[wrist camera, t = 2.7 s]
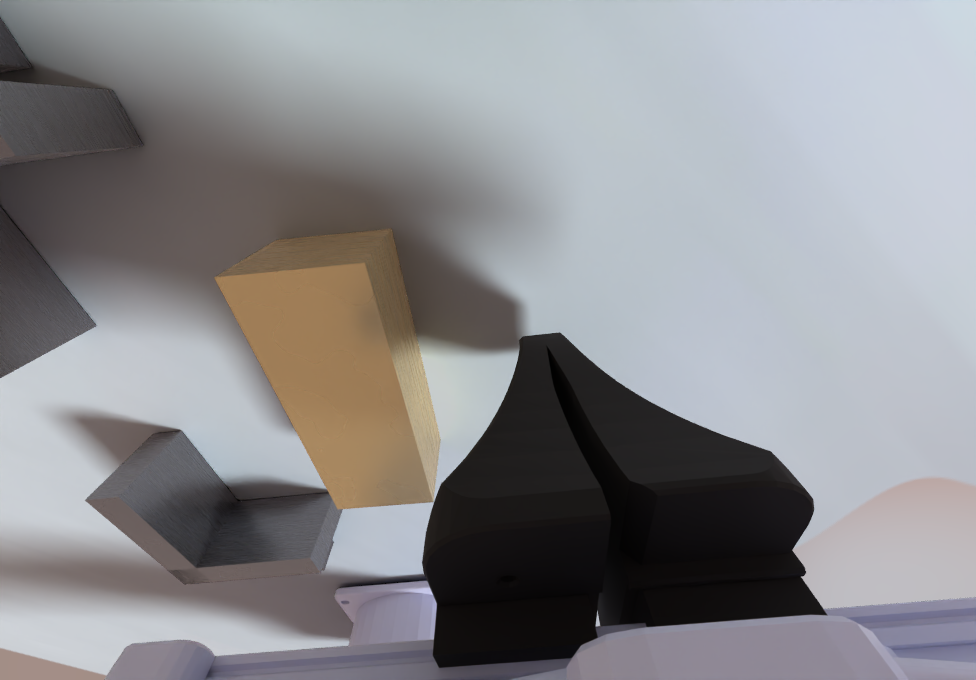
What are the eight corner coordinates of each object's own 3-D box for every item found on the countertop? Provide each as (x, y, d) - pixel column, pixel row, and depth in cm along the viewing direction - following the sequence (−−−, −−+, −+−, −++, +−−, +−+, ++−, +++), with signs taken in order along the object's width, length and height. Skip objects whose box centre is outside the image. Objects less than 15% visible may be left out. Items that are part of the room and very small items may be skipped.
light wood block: (441, 434, 16) (433, 501, 13) (362, 441, 16) (337, 509, 13) (393, 226, 11) (364, 263, 8) (280, 237, 11) (213, 277, 8)
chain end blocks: (361, 539, 19) (343, 604, 17) (254, 549, 19) (220, 614, 17) (10, -95, 7) (-259, -217, 4) (-267, -49, 7) (-673, -141, 5)
